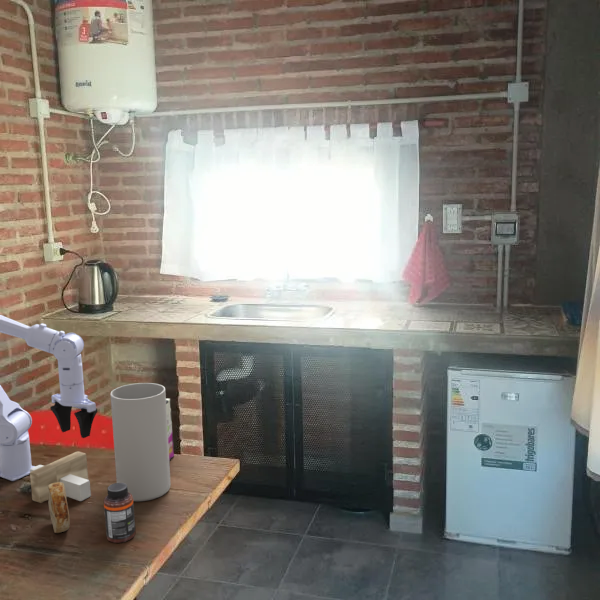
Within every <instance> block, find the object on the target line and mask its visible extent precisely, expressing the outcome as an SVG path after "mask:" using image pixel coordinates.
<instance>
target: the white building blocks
mask: <svg viewBox="0 0 600 600" xmlns="http://www.w3.org/2000/svg"><path fill="white" fill-rule="evenodd" d="M43 466H44V465H42V464H38V465H36V466H35V467H33V468H31V469H30V472H31V471H34V470H36V469H38V468H41V467H43ZM60 482H62V483H64V486H65V492H66V498H70V499H73V500H76V501H79V502H82V501H84V500H87V499H88V498H89V497H91V496H92V492H91V482H90V480H89V479H88V480H87V479H84V478H81V477H78V476H74V475H71V474H69V475H67V476H65V477H63V478H61V479H60Z"/></svg>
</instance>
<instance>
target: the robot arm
mask: <svg viewBox="0 0 600 600" xmlns="http://www.w3.org/2000/svg"><path fill="white" fill-rule="evenodd" d="M0 333H1V334H3V335H4V334H5V335H8V336H12V337H16V338H18V339H22V340H24V342H25V343H26V345H27V346H28V347H31V348H33V349H37V350H39V351H43V352H44V353H45V352H46V353H48V354H52V355H53V356H54V357H55V358H56V360H57V370H58V371H57V372H58V379H59V381H58V382H59V393H56V394H53V395H51V403H52V404H54V405H52V406H50V411H51V412H52V413H53V414H54V416H55V418H56V420H57V422H58V425H59V427H60V428H59V429H60V431H61V432H62V433H66V432H68V431H70V430H71V425H72V424H71V414H72V410H73V409H72V408H76V409H80V410H78V411H75V412H74V413H73V415H74V416H75V418H76V420H77V423H78V427H79V433H80V437H81V438H82V439H85V438H87V437H90V436H91V431H92V425H93V422H94V419H95V417H96V415H97V413H98V408H97V406H96V405H97V404H96V402H94V401H91V400H90V399H88V396H89V395H87V394H86V393H85V386H84V385H85V383H84V372H83V371H84V370H83V359H82V354H81V352H83V350H84V347H85V342H84V340H83V338H82V336H80V334H79V335H78V334H77V333H75V332H68V333H65V331H64V330H60V331H59V330H57V329H56V330H55V329H52V328H50V327H47V324H46V323H40V324H38V323H36V324H32V325H31V326H30V325H27V324H25V323H23V322H19V321H17V320H14V319H12V318H9V317H6V316H5V315H2V314H0ZM32 424H33V418H32V416H31V414H30V413H29V412H28V411H27V410H25V409H23V408H22V407H21V406H20V404H19V402H16V401H13V400H11V399H10V397H9V395H8V394H7V393H6V391H5V390H4V388H3V386H2V385H1V384H0V478H3V479H5V480H8V481H11V482H15V481H18V480H19V479H21V478H24V477H26V476H28V475H29V476H30V469H31V468H33V467H36V466H35V465H32V455H31V454H32V453H31V444H30V434H29V430H30V428H31V426H32Z"/></svg>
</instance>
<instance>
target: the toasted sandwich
mask: <svg viewBox="0 0 600 600" xmlns="http://www.w3.org/2000/svg"><path fill="white" fill-rule="evenodd" d="M48 490H49V499H48V500H47V501H48V510H49V515H50V519H51V524H52V527H53V532H54V533H55V534H60V533H62V532H63V533H64V532H66V531H68V530H69V528H70V524H71V523H70V512H69V505H68V501H67V496H66V492H65V486H64V483H62V482H56V483H52V484H49V485H48Z"/></svg>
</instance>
